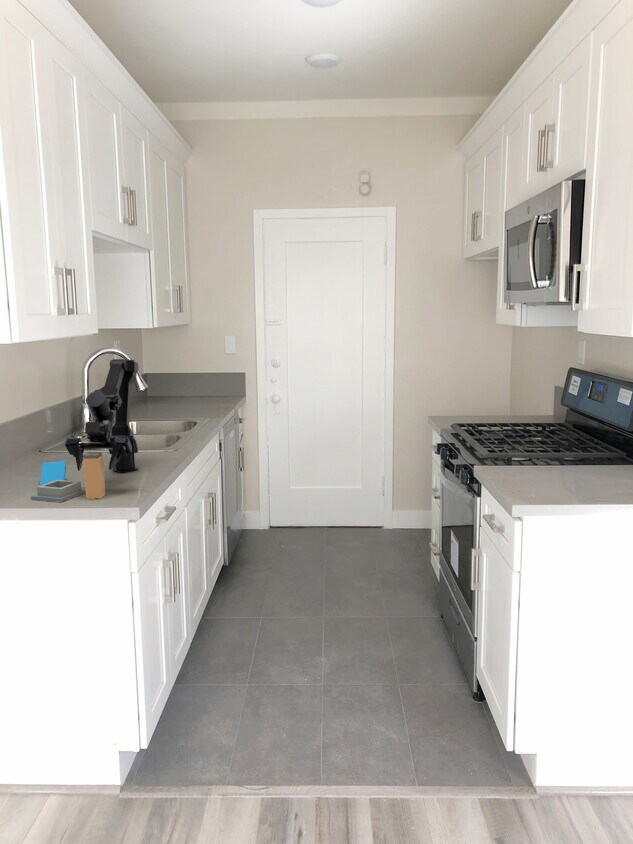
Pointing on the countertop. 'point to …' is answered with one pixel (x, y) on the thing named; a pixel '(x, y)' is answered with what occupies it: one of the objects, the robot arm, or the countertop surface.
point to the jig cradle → (58, 490)
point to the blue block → (53, 472)
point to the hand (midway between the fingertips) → (94, 469)
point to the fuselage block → (94, 475)
